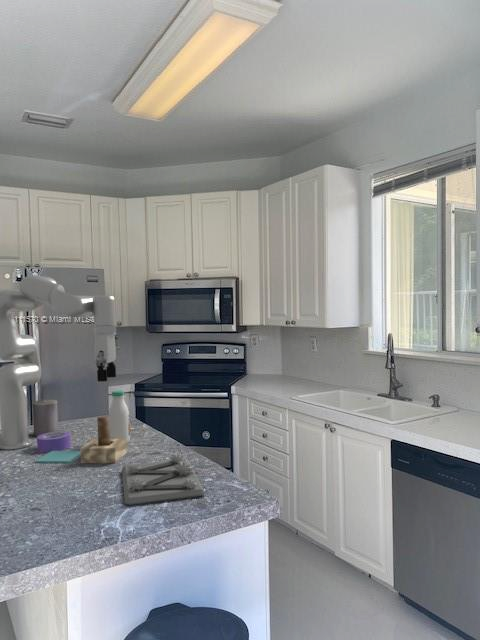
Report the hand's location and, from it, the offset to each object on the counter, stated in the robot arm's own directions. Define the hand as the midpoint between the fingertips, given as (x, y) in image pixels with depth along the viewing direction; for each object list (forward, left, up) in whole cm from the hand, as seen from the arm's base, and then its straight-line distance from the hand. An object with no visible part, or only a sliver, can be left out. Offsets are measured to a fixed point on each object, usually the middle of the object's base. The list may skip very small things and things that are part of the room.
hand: (107, 379), depth 176 cm
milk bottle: (-2, +17, -27) cm, 32 cm away
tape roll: (-25, +10, -28) cm, 38 cm away
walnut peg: (-1, -2, -27) cm, 27 cm away
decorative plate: (+25, -27, -28) cm, 46 cm away
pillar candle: (-38, +30, -27) cm, 55 cm away
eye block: (-1, -2, -27) cm, 27 cm away
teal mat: (-17, -2, -27) cm, 32 cm away
